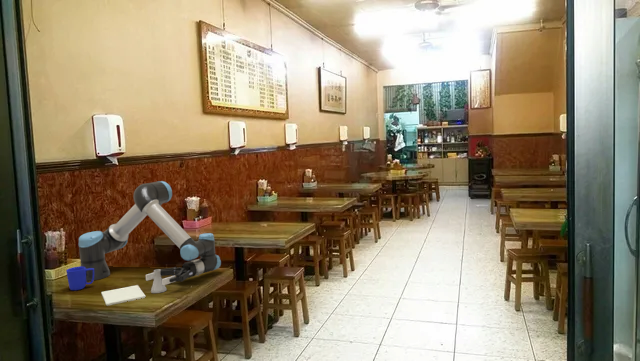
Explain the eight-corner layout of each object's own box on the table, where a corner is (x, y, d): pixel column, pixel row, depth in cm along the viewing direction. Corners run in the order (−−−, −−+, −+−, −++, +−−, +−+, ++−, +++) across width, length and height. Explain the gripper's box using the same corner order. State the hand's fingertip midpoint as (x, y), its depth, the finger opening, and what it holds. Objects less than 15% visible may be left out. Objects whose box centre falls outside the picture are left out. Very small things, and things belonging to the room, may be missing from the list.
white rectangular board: (101, 293, 214) (101, 292, 214) (137, 286, 222) (137, 285, 222) (106, 305, 197) (106, 304, 197) (145, 297, 205) (145, 296, 205)
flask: (149, 294, 210) (147, 273, 209) (152, 289, 217) (150, 268, 216) (166, 292, 211) (164, 271, 210) (168, 287, 218) (166, 267, 217)
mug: (94, 288, 222) (92, 268, 221) (66, 292, 218) (64, 272, 217) (97, 284, 230) (95, 264, 229) (70, 287, 226) (68, 267, 225)
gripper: (209, 279, 221) (170, 292, 204) (178, 272, 236) (140, 283, 220) (207, 264, 220) (169, 276, 203) (177, 258, 235) (139, 268, 219)
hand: (154, 280), depth 212 cm, fingers open, 13 cm apart
